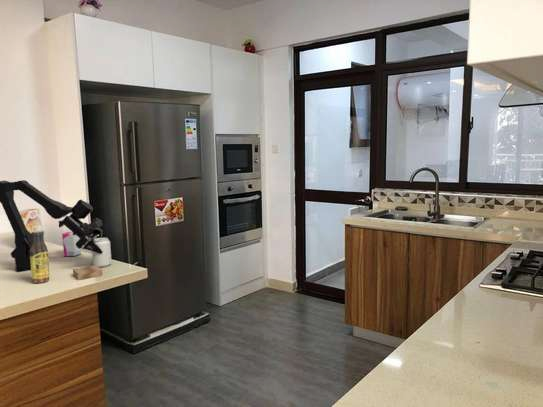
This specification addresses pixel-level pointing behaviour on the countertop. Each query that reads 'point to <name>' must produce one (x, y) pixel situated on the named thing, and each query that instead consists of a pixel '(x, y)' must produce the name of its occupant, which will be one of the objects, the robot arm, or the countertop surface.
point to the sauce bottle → (39, 258)
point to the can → (105, 256)
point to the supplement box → (70, 245)
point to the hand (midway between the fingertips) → (104, 250)
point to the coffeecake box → (31, 219)
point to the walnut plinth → (87, 272)
